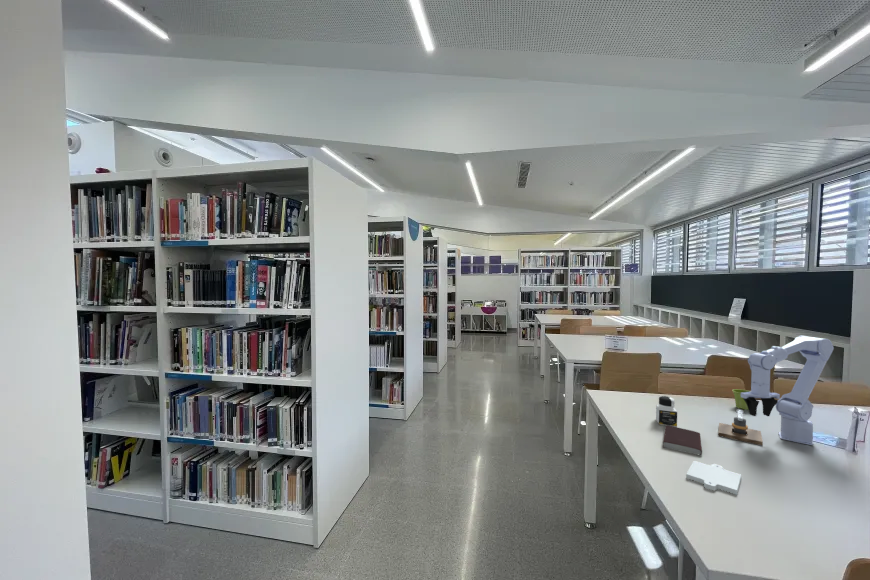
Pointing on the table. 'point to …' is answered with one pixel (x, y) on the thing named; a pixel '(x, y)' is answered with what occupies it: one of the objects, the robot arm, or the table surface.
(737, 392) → the plant pot
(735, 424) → the plug
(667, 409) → the medicine bottle
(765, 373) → the robot arm
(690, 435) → the book
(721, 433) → the socket block
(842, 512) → the table surface
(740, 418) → the grey rectangular bar
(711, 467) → the mounting plate
